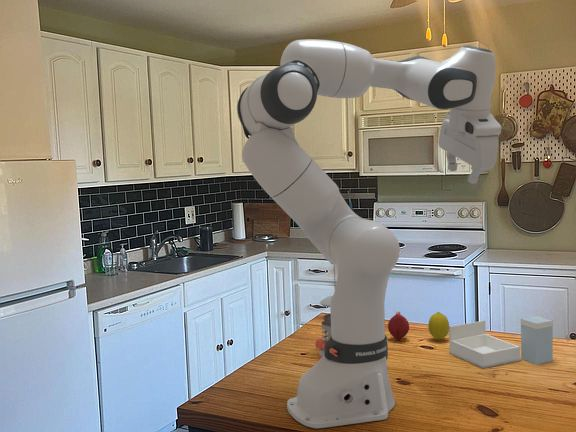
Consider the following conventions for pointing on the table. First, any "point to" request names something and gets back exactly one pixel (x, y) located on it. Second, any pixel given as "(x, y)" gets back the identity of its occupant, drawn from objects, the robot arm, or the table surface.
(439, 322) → the lemon
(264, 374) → the table surface
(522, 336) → the carton
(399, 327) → the onion
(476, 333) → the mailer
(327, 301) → the french press
